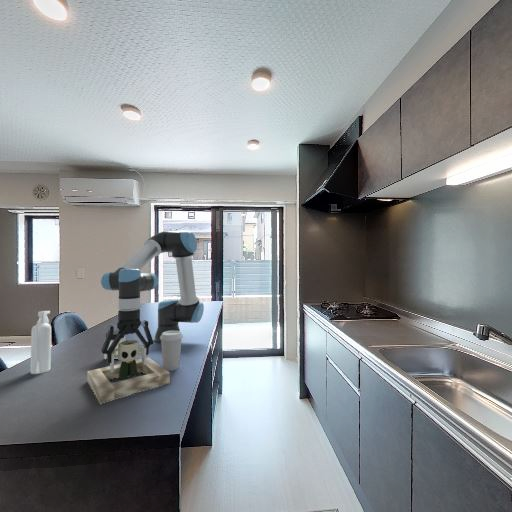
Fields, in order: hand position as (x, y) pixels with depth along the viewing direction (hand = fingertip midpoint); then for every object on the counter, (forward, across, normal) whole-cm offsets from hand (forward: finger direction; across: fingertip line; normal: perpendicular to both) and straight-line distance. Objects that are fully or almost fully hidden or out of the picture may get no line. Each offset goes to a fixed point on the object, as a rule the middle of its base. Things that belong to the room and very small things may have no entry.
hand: (128, 367), depth 102 cm
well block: (+6, 0, 0) cm, 6 cm away
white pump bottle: (+6, +24, -35) cm, 43 cm away
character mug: (+4, 0, 0) cm, 4 cm away
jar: (+6, -4, -33) cm, 34 cm away
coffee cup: (+6, -18, -3) cm, 20 cm away
